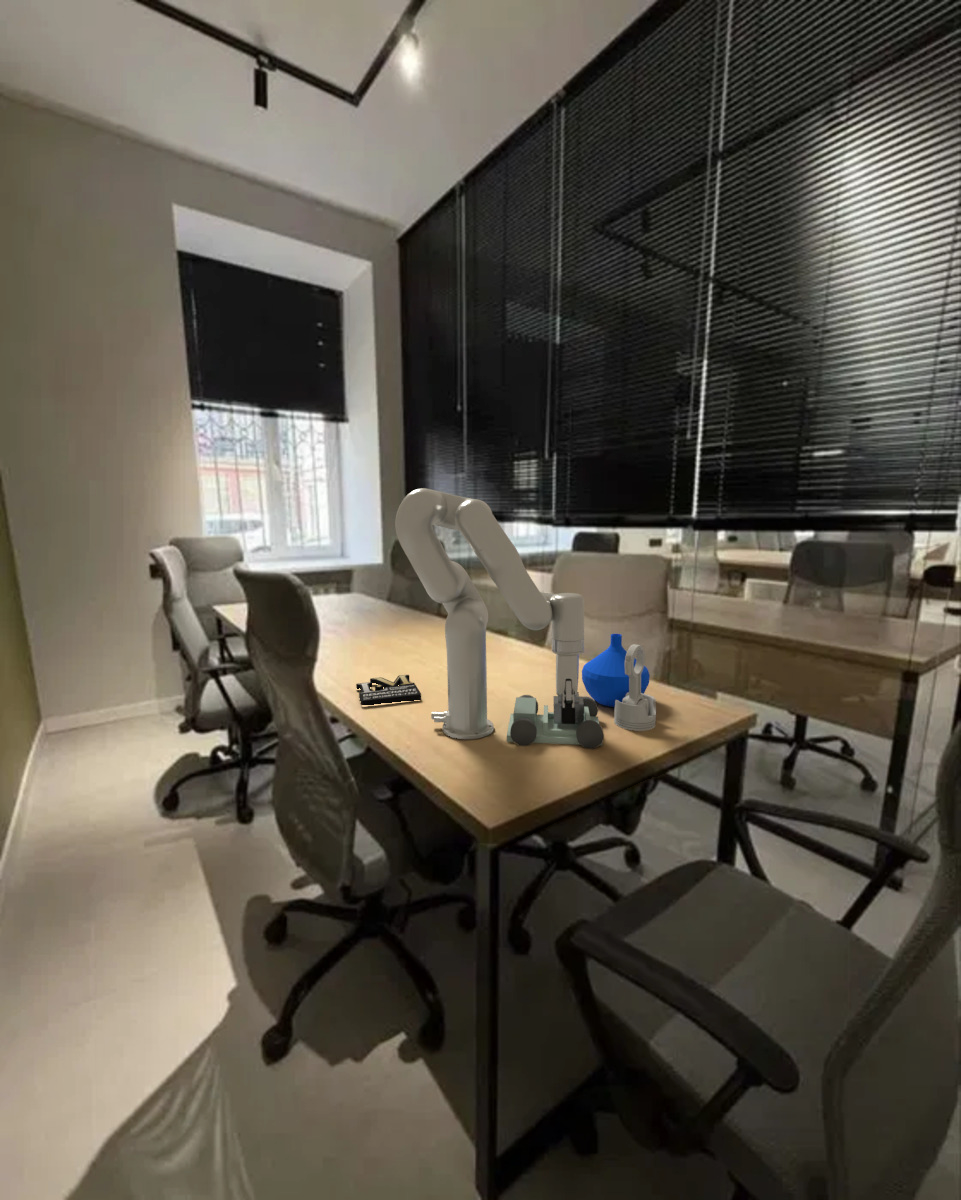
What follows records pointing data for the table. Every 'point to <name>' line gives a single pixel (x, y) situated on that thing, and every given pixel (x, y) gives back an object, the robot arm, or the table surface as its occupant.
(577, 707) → the block
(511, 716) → the chassis
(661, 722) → the table surface
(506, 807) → the table surface
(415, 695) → the decorative sign
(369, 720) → the table surface
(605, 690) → the vase
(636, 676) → the engine component
